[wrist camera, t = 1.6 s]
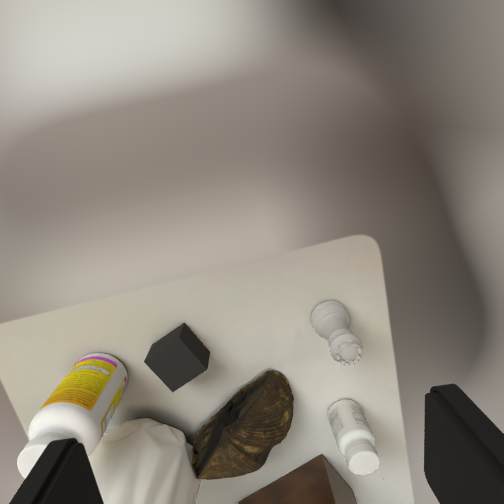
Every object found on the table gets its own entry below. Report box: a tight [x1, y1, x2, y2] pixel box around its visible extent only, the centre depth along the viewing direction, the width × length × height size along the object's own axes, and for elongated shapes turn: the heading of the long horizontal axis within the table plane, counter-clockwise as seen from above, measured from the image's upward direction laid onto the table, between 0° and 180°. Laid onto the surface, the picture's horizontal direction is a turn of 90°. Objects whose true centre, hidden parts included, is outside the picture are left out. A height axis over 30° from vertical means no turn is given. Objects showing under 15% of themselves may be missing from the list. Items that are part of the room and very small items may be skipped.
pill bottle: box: [328, 399, 380, 476], centre depth 41 cm, size 4×4×8 cm
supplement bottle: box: [17, 353, 128, 479], centre depth 36 cm, size 7×7×13 cm
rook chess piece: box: [311, 301, 363, 365], centre depth 37 cm, size 4×4×8 cm
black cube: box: [144, 323, 210, 392], centre depth 39 cm, size 5×5×4 cm
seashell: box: [191, 371, 294, 480], centre depth 41 cm, size 16×9×7 cm, turn 138°
